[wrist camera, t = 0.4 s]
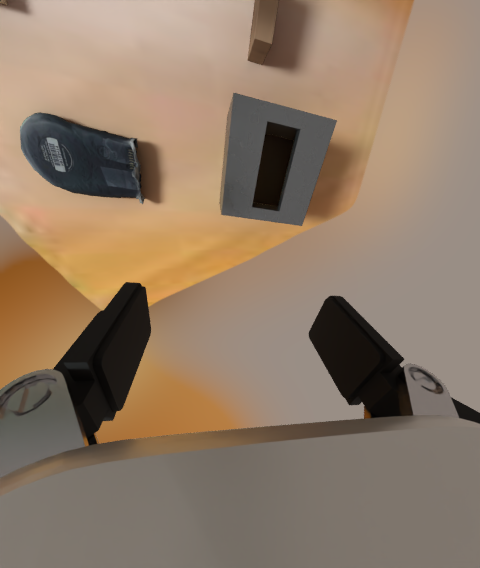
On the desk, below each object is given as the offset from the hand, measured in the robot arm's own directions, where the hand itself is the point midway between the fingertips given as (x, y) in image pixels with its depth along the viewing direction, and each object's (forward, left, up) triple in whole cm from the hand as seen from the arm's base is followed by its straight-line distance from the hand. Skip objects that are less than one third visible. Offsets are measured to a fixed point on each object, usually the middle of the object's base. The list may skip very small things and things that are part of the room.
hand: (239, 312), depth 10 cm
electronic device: (-4, -20, -30) cm, 36 cm away
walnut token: (-22, +3, -29) cm, 36 cm away
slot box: (-7, +6, -29) cm, 30 cm away
